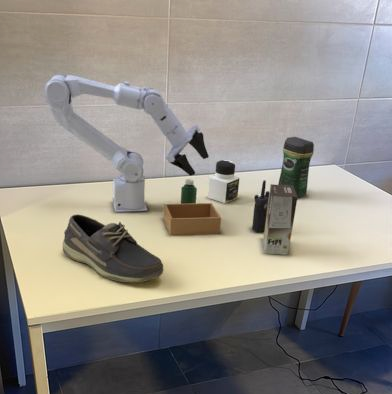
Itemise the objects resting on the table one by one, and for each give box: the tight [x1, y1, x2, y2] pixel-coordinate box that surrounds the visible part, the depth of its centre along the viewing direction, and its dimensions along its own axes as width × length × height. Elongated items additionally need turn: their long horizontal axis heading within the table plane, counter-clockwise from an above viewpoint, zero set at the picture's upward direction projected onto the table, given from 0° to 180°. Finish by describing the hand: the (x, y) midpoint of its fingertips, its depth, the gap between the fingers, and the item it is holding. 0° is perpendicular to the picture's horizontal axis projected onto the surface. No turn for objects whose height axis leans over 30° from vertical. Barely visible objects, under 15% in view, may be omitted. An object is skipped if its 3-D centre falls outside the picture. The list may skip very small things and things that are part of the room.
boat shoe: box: [62, 214, 164, 283], centre depth 128 cm, size 11×29×11 cm, turn 58°
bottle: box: [180, 178, 198, 204], centre depth 163 cm, size 5×5×9 cm
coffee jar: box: [277, 136, 315, 199], centre depth 179 cm, size 10×8×19 cm
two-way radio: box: [251, 179, 270, 233], centre depth 152 cm, size 6×4×15 cm
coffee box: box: [262, 183, 299, 256], centre depth 142 cm, size 9×6×16 cm
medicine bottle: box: [207, 159, 241, 204], centre depth 173 cm, size 7×7×12 cm
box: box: [163, 202, 222, 236], centre depth 154 cm, size 14×11×5 cm
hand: (199, 166), depth 160 cm, fingers open, 7 cm apart
